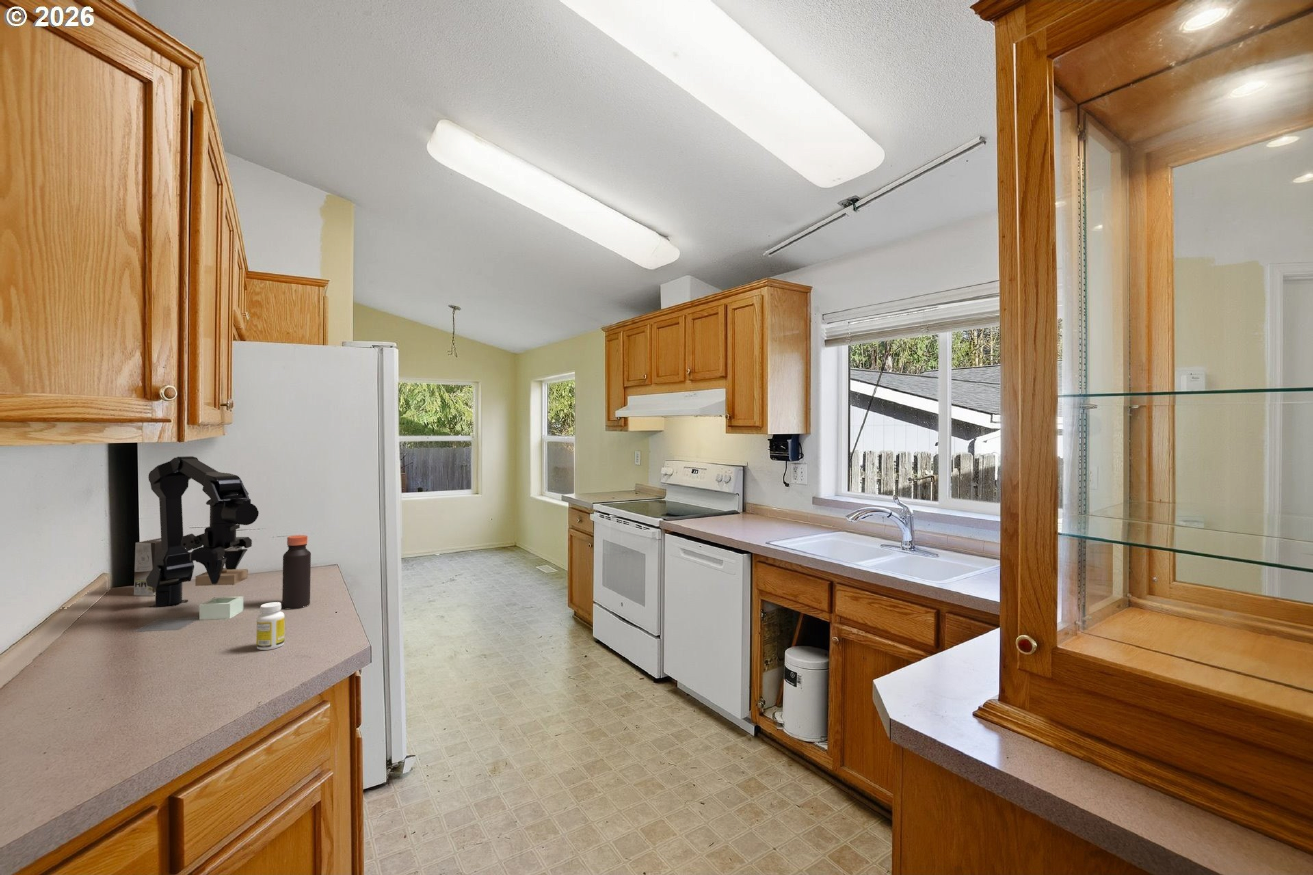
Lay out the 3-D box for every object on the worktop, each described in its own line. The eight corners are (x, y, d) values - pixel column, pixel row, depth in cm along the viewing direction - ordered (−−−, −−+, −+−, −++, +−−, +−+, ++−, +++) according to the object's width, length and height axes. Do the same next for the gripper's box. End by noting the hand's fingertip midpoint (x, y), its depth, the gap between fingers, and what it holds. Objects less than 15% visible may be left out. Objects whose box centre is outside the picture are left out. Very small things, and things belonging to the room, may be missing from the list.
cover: (210, 579, 154) (210, 566, 154) (247, 578, 156) (247, 565, 156) (195, 585, 147) (195, 572, 147) (234, 584, 149) (234, 571, 149)
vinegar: (312, 601, 167) (313, 534, 167) (306, 608, 160) (307, 538, 160) (286, 603, 165) (287, 534, 165) (278, 610, 158) (280, 539, 158)
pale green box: (214, 613, 154) (214, 597, 154) (243, 612, 156) (243, 596, 156) (199, 622, 148) (199, 604, 148) (229, 620, 149) (230, 603, 149)
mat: (159, 621, 148) (159, 618, 148) (202, 619, 150) (202, 616, 150) (132, 634, 138) (132, 631, 138) (179, 631, 140) (179, 629, 140)
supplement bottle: (281, 640, 136) (282, 599, 136) (286, 646, 132) (287, 604, 132) (254, 646, 132) (254, 604, 132) (258, 652, 128) (259, 609, 128)
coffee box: (154, 596, 170) (154, 542, 170) (133, 595, 170) (133, 542, 170) (180, 588, 179) (180, 537, 179) (160, 587, 179) (160, 536, 179)
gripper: (208, 517, 159) (207, 572, 159) (166, 528, 141) (165, 590, 141) (253, 517, 161) (252, 571, 161) (216, 527, 143) (215, 589, 143)
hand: (222, 580), depth 152 cm, fingers closed on cover, 7 cm apart
